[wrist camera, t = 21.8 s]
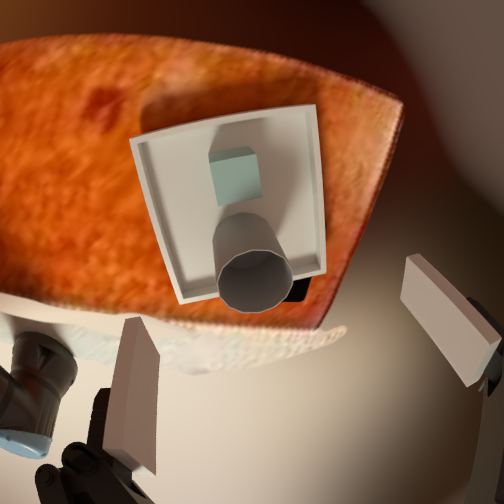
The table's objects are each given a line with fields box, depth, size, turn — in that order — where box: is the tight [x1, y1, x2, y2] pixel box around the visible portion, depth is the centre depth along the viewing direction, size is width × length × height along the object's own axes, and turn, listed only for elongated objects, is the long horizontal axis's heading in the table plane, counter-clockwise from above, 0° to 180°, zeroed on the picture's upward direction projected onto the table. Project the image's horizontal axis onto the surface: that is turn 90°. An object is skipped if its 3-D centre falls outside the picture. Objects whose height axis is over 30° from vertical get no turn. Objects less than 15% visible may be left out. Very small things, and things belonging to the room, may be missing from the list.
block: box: [208, 146, 263, 206], centre depth 34 cm, size 5×5×5 cm
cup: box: [212, 213, 293, 313], centre depth 37 cm, size 8×8×10 cm
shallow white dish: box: [129, 104, 326, 304], centre depth 39 cm, size 22×24×4 cm
